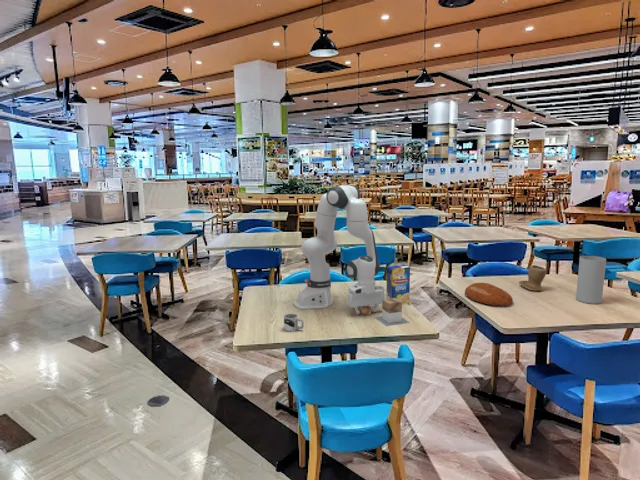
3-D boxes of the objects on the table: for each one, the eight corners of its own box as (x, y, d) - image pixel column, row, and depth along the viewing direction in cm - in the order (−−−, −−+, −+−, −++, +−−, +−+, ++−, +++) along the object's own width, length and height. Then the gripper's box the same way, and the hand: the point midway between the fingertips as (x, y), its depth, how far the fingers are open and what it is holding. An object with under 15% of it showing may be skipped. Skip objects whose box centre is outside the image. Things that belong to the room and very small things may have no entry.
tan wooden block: (389, 313, 204) (389, 303, 203) (382, 308, 211) (382, 299, 210) (401, 311, 206) (401, 301, 205) (394, 307, 213) (394, 297, 212)
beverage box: (409, 305, 236) (410, 267, 232) (391, 307, 232) (392, 268, 229) (403, 301, 242) (404, 264, 238) (386, 303, 239) (386, 266, 235)
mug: (281, 330, 201) (281, 317, 200) (287, 325, 207) (287, 313, 206) (301, 333, 198) (300, 320, 196) (306, 328, 204) (306, 315, 203)
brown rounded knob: (363, 318, 216) (363, 309, 215) (359, 315, 221) (359, 306, 220) (372, 317, 218) (372, 308, 217) (368, 314, 222) (368, 305, 221)
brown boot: (548, 292, 257) (550, 268, 254) (529, 292, 257) (531, 268, 254) (536, 285, 271) (537, 262, 269) (517, 285, 272) (519, 262, 269)
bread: (489, 310, 227) (490, 294, 225) (454, 293, 257) (454, 279, 255) (523, 305, 234) (524, 290, 232) (485, 290, 264) (485, 276, 262)
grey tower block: (388, 323, 205) (389, 313, 204) (382, 318, 211) (382, 308, 211) (401, 321, 207) (401, 311, 206) (394, 316, 214) (394, 307, 213)
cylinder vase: (576, 296, 248) (580, 254, 244) (602, 299, 241) (606, 257, 236) (574, 301, 238) (578, 258, 234) (601, 305, 231) (605, 261, 226)
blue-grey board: (386, 329, 201) (386, 326, 201) (374, 320, 213) (374, 317, 213) (409, 325, 206) (410, 322, 205) (396, 316, 218) (396, 314, 217)
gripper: (381, 283, 223) (381, 308, 225) (345, 288, 216) (345, 313, 218) (387, 287, 217) (386, 312, 219) (350, 291, 210) (350, 317, 213)
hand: (366, 313), depth 219 cm, fingers open, 8 cm apart
